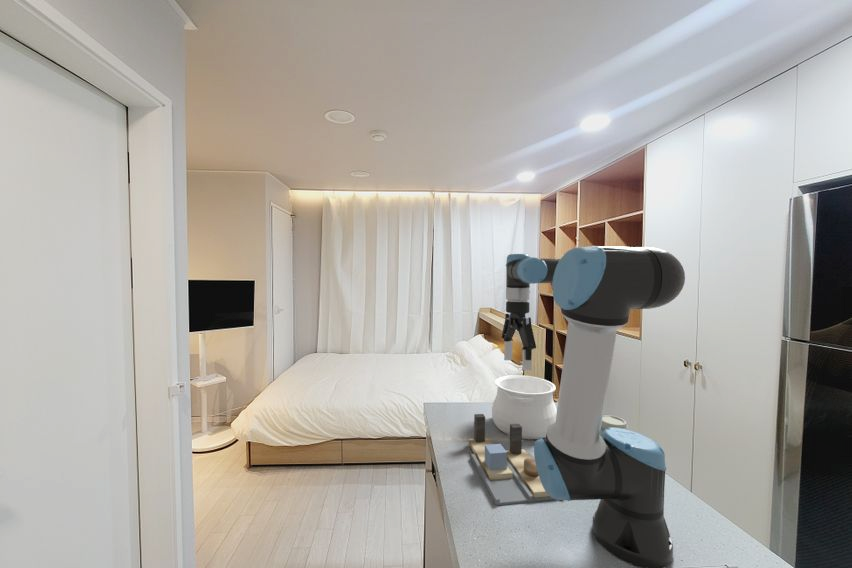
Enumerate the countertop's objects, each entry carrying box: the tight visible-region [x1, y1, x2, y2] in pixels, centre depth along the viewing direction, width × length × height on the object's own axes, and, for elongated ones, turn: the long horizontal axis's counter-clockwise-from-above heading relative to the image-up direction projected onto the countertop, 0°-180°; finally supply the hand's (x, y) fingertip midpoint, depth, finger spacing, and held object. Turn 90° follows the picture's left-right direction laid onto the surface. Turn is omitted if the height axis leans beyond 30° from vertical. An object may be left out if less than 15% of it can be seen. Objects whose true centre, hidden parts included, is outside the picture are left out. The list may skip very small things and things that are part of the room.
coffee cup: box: [600, 414, 629, 438], centre depth 110 cm, size 8×8×12 cm
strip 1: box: [468, 413, 513, 480], centre depth 106 cm, size 21×7×10 cm, turn 9°
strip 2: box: [506, 424, 549, 498], centre depth 99 cm, size 21×7×10 cm, turn 9°
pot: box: [491, 374, 557, 440], centre depth 130 cm, size 26×24×17 cm
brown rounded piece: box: [524, 458, 539, 477], centre depth 97 cm, size 4×4×3 cm
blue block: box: [485, 443, 507, 471], centre depth 100 cm, size 5×5×5 cm
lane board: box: [470, 449, 556, 506], centre depth 98 cm, size 22×19×2 cm
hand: (517, 364), depth 113 cm, fingers open, 13 cm apart
